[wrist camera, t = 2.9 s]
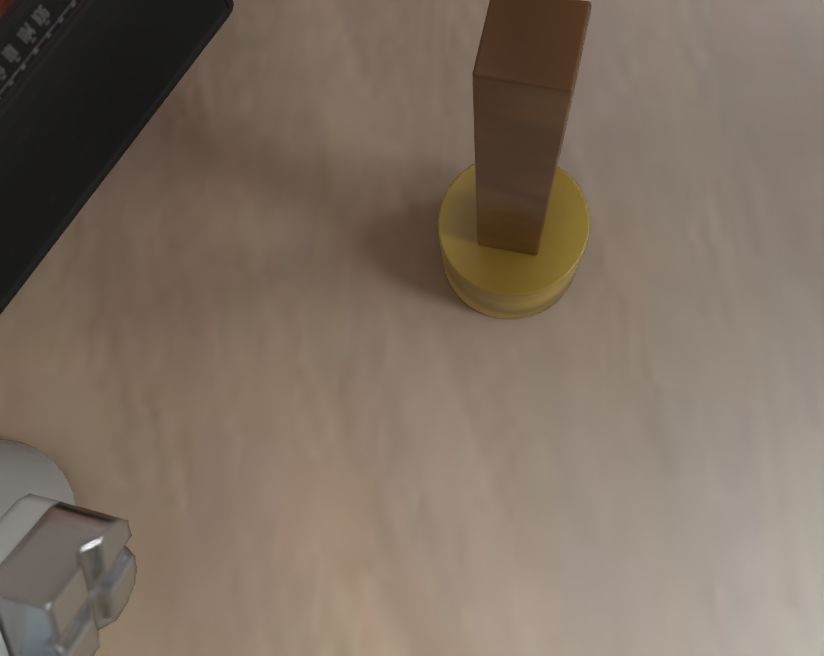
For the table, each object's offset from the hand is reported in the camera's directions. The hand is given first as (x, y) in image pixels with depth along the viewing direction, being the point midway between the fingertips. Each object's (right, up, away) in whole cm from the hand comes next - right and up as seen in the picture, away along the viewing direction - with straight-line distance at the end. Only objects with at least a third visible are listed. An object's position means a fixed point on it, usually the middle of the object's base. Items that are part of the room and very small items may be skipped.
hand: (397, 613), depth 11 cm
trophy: (+4, +7, +18) cm, 20 cm away
